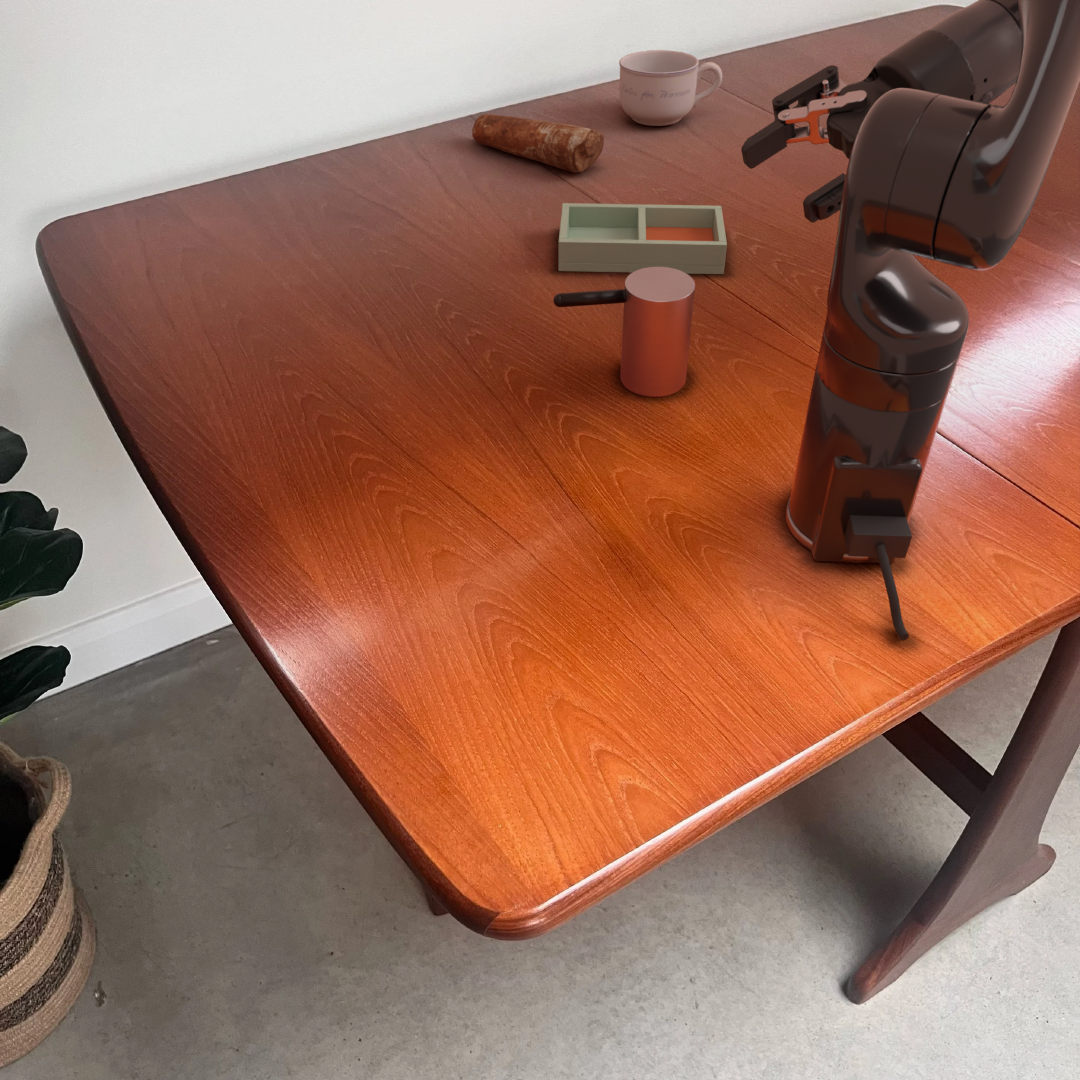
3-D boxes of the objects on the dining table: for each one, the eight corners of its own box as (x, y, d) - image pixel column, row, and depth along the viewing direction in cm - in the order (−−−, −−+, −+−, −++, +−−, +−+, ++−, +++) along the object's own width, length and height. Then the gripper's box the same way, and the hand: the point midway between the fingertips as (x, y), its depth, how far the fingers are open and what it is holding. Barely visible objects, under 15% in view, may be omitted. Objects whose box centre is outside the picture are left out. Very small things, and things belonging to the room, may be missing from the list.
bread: (579, 183, 131) (580, 139, 127) (464, 147, 139) (462, 105, 135) (608, 166, 134) (610, 122, 130) (494, 132, 143) (493, 90, 139)
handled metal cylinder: (678, 358, 101) (686, 264, 95) (692, 394, 97) (702, 298, 90) (549, 367, 100) (549, 273, 94) (557, 404, 96) (557, 308, 89)
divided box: (723, 274, 113) (727, 244, 111) (558, 271, 114) (558, 241, 112) (718, 234, 120) (721, 205, 118) (562, 231, 121) (562, 202, 119)
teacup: (608, 129, 143) (610, 68, 138) (627, 100, 151) (629, 42, 145) (709, 139, 140) (715, 78, 135) (722, 110, 148) (729, 51, 142)
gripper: (888, -5, 83) (717, 105, 83) (1013, 72, 75) (824, 194, 75) (891, 74, 89) (732, 176, 89) (1007, 154, 81) (832, 266, 81)
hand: (774, 184), depth 82 cm, fingers open, 8 cm apart
